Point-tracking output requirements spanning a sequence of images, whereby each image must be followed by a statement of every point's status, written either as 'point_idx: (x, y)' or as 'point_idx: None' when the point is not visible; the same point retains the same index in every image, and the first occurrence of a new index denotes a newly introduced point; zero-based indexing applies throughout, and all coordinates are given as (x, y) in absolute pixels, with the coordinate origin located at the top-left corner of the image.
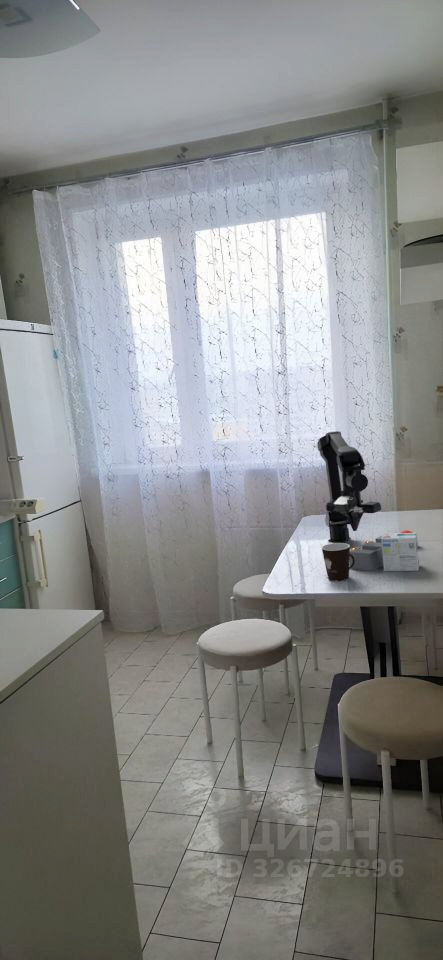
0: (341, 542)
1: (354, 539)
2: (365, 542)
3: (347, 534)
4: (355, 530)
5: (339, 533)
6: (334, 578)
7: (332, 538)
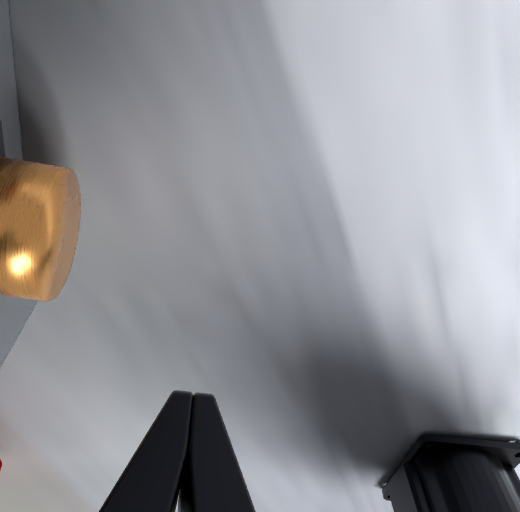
0: (427, 434)
1: (357, 486)
2: (29, 235)
3: (402, 507)
4: (168, 400)
5: (461, 504)
6: None
7: (500, 466)
